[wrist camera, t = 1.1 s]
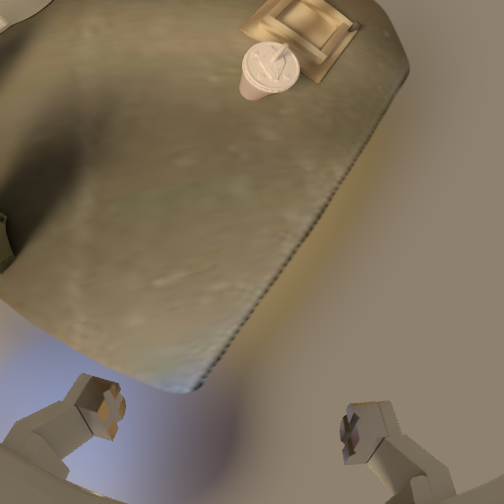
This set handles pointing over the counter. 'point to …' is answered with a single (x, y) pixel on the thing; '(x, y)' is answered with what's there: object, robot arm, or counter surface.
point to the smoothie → (268, 70)
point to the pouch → (4, 245)
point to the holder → (304, 32)
